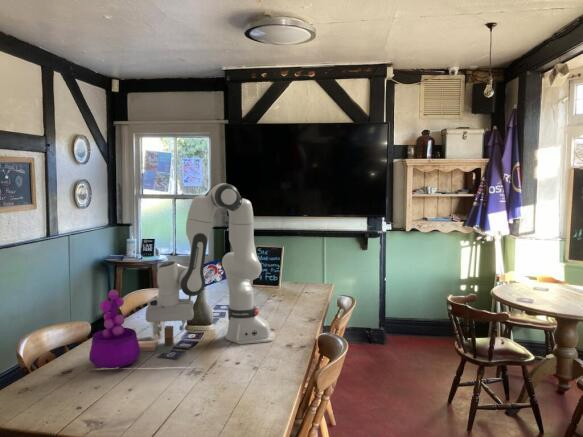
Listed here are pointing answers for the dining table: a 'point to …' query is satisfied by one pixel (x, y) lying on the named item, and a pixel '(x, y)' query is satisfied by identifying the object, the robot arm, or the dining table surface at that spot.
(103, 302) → the decorative plant
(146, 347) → the tile
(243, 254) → the robot arm
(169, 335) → the walnut block
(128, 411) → the dining table surface
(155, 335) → the beer glass
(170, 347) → the mat
